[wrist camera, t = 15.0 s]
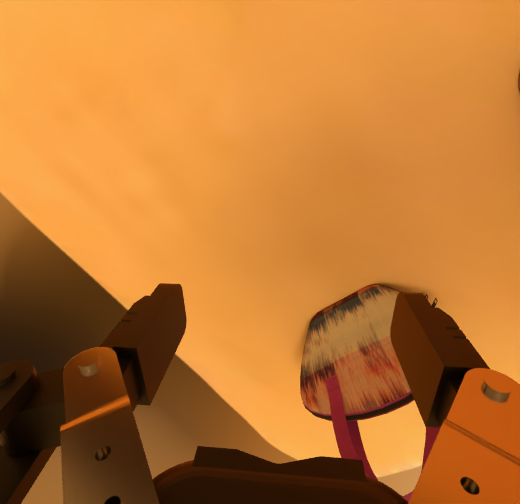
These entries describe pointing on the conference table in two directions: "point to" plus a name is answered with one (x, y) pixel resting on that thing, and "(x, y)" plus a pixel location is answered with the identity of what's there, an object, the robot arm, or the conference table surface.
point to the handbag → (355, 369)
